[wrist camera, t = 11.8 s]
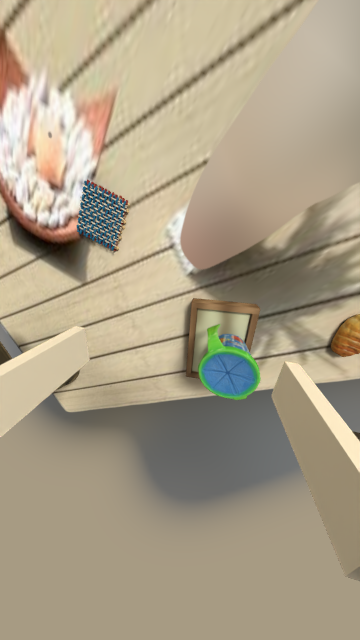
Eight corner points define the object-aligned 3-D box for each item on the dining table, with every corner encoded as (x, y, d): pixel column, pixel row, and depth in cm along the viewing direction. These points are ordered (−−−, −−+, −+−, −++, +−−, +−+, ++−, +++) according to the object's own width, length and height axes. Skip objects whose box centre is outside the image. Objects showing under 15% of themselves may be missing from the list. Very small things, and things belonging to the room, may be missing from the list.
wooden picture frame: (187, 367, 46) (185, 376, 43) (193, 298, 39) (191, 302, 36) (239, 376, 44) (241, 385, 41) (256, 304, 37) (260, 308, 33)
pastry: (348, 357, 37) (361, 367, 34) (319, 344, 38) (330, 354, 34) (383, 322, 34) (403, 330, 30) (351, 309, 34) (367, 315, 30)
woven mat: (133, 202, 34) (128, 199, 33) (119, 252, 39) (114, 252, 37) (88, 179, 34) (81, 175, 33) (79, 231, 39) (73, 230, 37)
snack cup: (261, 372, 38) (270, 409, 29) (216, 377, 42) (212, 411, 33) (244, 310, 34) (247, 329, 25) (196, 322, 38) (185, 342, 29)
